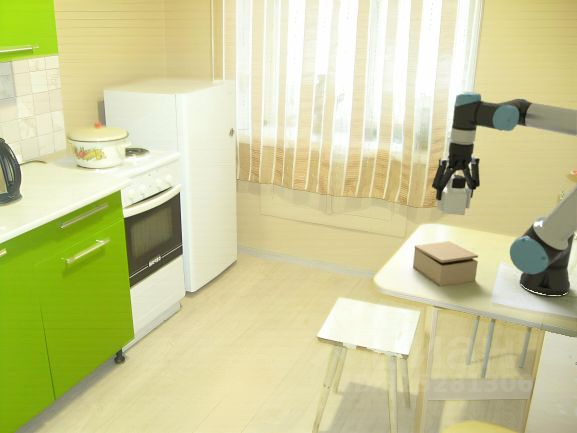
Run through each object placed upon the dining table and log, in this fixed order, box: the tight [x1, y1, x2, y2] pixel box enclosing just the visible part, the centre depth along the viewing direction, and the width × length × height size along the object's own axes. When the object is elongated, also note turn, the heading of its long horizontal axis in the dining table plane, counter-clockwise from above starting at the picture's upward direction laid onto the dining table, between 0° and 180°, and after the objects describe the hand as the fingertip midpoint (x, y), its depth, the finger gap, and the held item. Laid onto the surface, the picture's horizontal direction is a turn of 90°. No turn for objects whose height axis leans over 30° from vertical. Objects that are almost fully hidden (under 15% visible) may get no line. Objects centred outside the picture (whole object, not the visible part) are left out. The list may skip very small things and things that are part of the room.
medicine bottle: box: [441, 174, 467, 216], centre depth 201 cm, size 7×7×12 cm
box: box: [412, 247, 479, 287], centre depth 208 cm, size 16×14×7 cm
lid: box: [414, 241, 479, 263], centre depth 206 cm, size 16×14×1 cm
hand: (452, 208), depth 203 cm, fingers closed on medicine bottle, 9 cm apart
